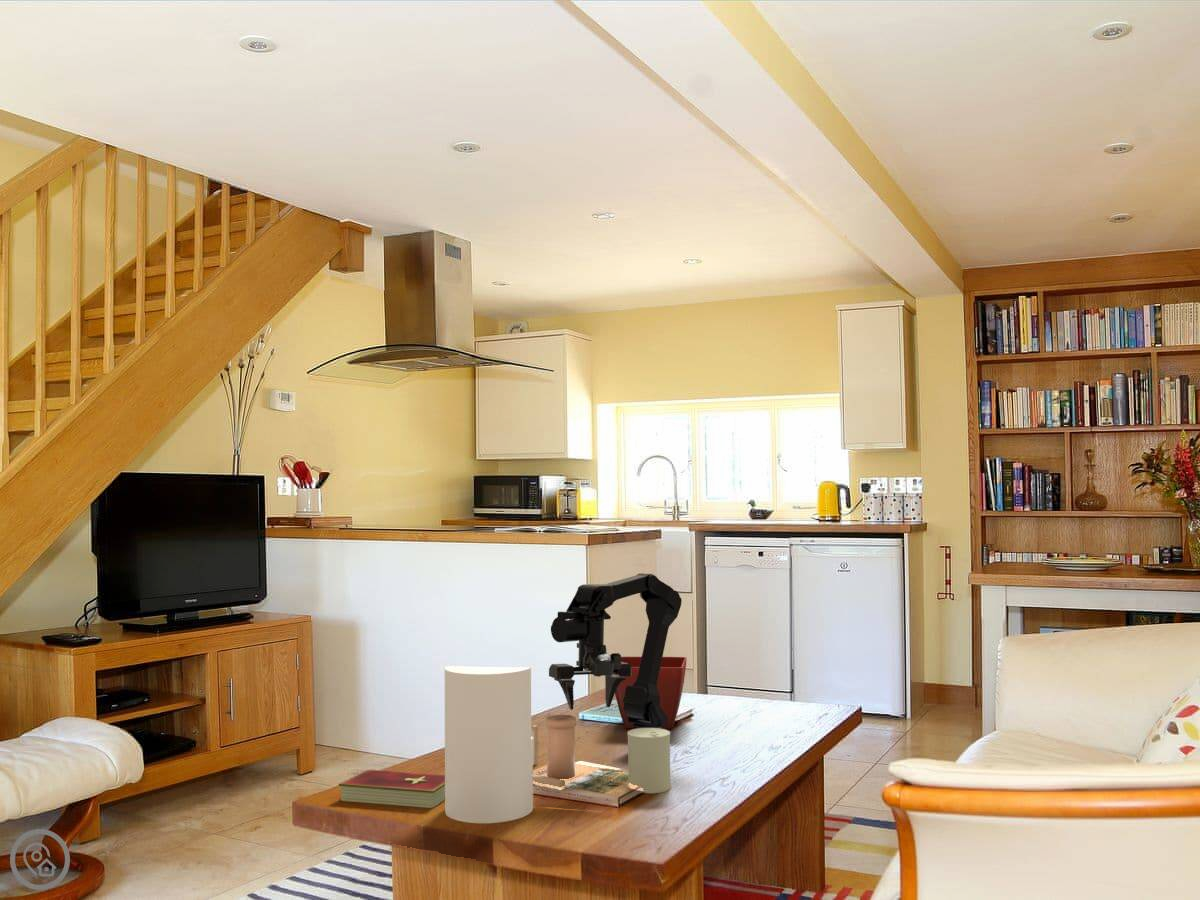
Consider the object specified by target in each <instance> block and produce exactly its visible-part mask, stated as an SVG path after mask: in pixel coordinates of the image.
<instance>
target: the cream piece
mask: <svg viewBox="0 0 1200 900" xmlns="http://www.w3.org/2000/svg"><path fill="white" fill-rule="evenodd" d="M531 736H532V737H533V766H537V765H539V726H538V725H535V724H534V725H531ZM575 764H581V765H586V766H592V767H600V768H609V769H615V770H618V771H621V768H620V767H619V768H618V767H614V766H609V765H604V764H599V763H594V762H590V761H589V762H588V761H582V760H579V761H575ZM533 781H535V782H538V783H542V784H549V785H553V786H558V787H562V786H565V781H564V780H560V779H555V778H550V777H545V776H541V775H539V774H537V773H536V774H534V773H533Z"/></svg>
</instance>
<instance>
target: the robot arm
mask: <svg viewBox="0 0 1200 900" xmlns="http://www.w3.org/2000/svg"><path fill="white" fill-rule="evenodd" d="M576 590H577V591H576V593H575V595H574V596H573V598H572V600H571V602H570V603H569V605H568V606H567V609H566V611H557V616H556V617H555V618H554V619H553V621H552V622H551V626H550V633H551V636H552V638H553V640H554V641H555V642H557V643H568V642H569V643H570V642H577V643H576V648H578V660H576V661H575V663H576V665H575V666H573V665H572V664H571V665H570V664H568V663H552V664H551V665H550V666H549V668H548V677H551V678H552V679H554V681H556V682H558V683H559V685H560V687H561V690H562V692H563V695H564V697H565V699H566V702H567V705H568V708H569V709H570V710H571V711H573V710H574V704H575V703H574V686H575V682H576V680H575V679H573V678H574V676H577V675H578V676H582V675H593V676H594V677H599V678H600V677H601V676H604V678H605V681H604V683H605V686H604V687H605V688H604V690H605V705H606V706H605V707H606V708H610V707H611V705H612V702H613V699H614V697H615V691H616V689H617V687H618V685H619V684H620V683H621V682H622V681H623V680H626V677H625V676H632V668H631V666H630V664H628V663H625V662H621V657H622V655H621V654H620V653H619V652H615V653H611V654H608V652H607V646H606V644H605V643H604V642H605V641H604V639H605V638H604V637H605V636H604V635H605V632H604V631H605V620H611V618H612V617H611V615H610V614H609V613H608V612H606V609H608V608H610V607H612V606H613V604H614V603H615V602H616V601H618V600H621V599H624V598H626V597H631V596H634V595H638V594H639V597H640V599H642V600H643V602H645V603H646V604H645V613H646V617H647V621H648V625H647V626H648V627H647V629H646V630H647V631H646V635H645V640H644V645H643V649H642V653H641V657H642V658H641V662H640V667H639V672H638V676H637V680H636V682H635V683H634V684H633V685H632V686H629V685H627V687H626V690H625V696H624V699H623V701H622V702H624V706H623V709H624V711H625V713H626V717H627V721H628V723H633V728H632V730H633V729H638V728H660V729H661V727H663V726H665V725H666V723H667V718H668V716H667V715H666V714H665V713H664V711H663V710H662V709H661V708H660V706H659V705H660V695H659V691H658V688H657V680H658V676H659V671H660V666H661V661H662V657H664V652H665V646H666V641H667V637H668V633H669V629H670V626H671V625H672V624H673V623H674V622H675V620H676V619H677V618H678V616H679V614H680V613H679V612H680V609H681V607H682V601H683V599H682V597H681V595H680V594H679V592H678V591H677V590H675V589H673V587H672V586H669V585H668V584H666V583H665V582H663V581H662V580H660V579H659V578H658V577H657V576H656V575H655V574H653V573H643V572H642V573H641V572H640V573H637V574H635V575H632V576H630V577H625V578H622V579H620V580H615V581H612V582H608V583H594V584H593V583H591V584H590V583H588V584H587V583H585V584H581V585H579V586H578V587H577V589H576Z"/></svg>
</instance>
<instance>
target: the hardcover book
mask: <svg viewBox="0 0 1200 900" xmlns="http://www.w3.org/2000/svg"><path fill="white" fill-rule="evenodd" d="M338 787H341V791H340V792H341V793H340V794H341V795H340V796H341V797H340V799H341V800H340V801H342V802H351V803H362V804H363V803H365V804H377V805H387V806H389V805H390V806H400V807H402V806H403V807H413V808H426V809H433V808H435V807H436V806H437V805H439V804H440V803H441V802H443V801H445V774H438V773H437V774H436V773H420V772H407V771H394V770H381V769H380V770H379V769H365V770H362V771H360V772H359V773H357V774H355V775H353V776H351V777H349V778H347V779H344V781H341V782H340V783H338Z"/></svg>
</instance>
